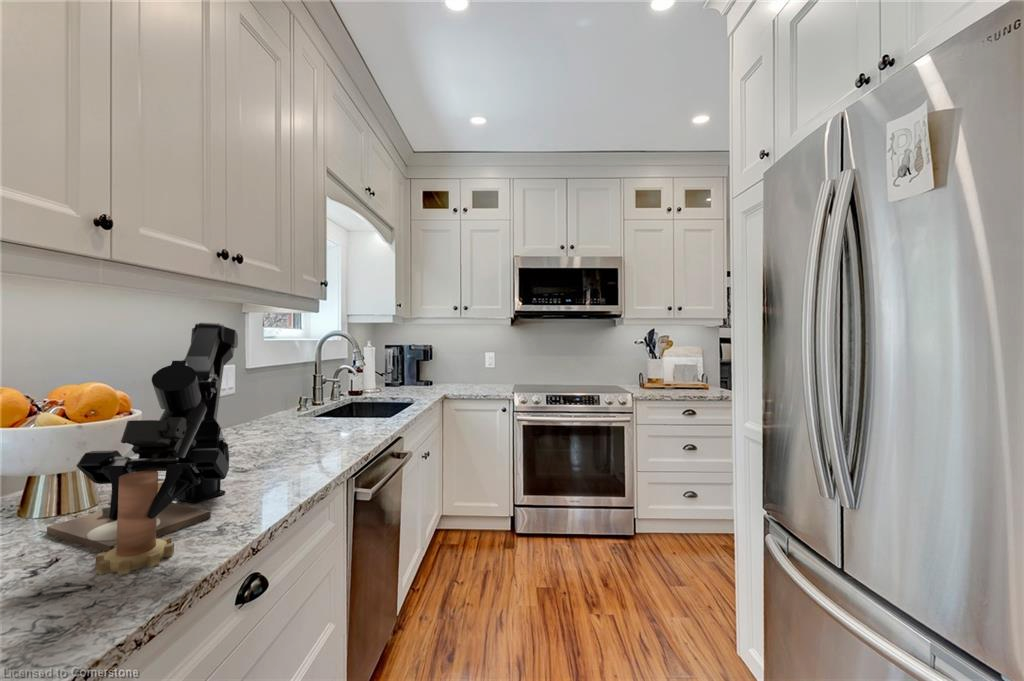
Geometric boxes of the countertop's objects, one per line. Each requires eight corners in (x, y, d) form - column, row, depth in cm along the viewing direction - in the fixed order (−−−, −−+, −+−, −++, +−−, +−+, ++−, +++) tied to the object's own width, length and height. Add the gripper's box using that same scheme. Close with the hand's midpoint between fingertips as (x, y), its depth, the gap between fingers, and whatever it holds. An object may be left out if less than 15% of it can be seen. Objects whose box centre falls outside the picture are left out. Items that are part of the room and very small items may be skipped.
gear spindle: (151, 541, 69) (153, 464, 69) (187, 552, 66) (190, 470, 66) (80, 567, 61) (83, 479, 61) (118, 581, 58) (121, 487, 58)
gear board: (150, 503, 85) (150, 485, 85) (210, 517, 79) (210, 498, 79) (46, 533, 71) (47, 512, 71) (110, 554, 65) (110, 530, 65)
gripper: (88, 398, 66) (18, 496, 55) (223, 398, 69) (183, 489, 58) (122, 439, 73) (66, 531, 62) (242, 436, 77) (210, 523, 66)
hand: (131, 518), depth 62 cm, fingers closed on gear spindle, 4 cm apart
